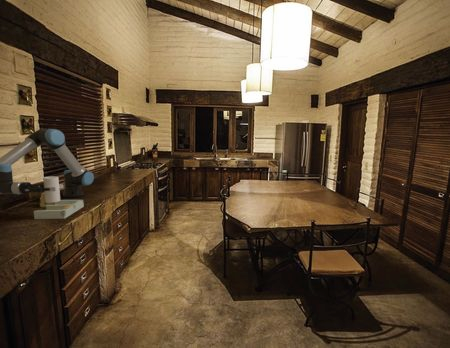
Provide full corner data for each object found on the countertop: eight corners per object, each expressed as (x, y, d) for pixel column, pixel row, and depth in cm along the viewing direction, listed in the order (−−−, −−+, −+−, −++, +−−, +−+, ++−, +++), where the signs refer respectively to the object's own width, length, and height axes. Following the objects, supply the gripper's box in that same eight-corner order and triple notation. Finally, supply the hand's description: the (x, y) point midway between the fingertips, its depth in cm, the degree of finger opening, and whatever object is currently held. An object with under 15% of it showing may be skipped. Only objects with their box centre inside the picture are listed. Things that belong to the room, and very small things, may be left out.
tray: (34, 219, 163) (33, 210, 162) (58, 206, 190) (57, 199, 190) (64, 218, 165) (63, 209, 164) (83, 206, 192) (83, 198, 191)
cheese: (40, 207, 188) (38, 194, 186) (45, 203, 198) (44, 191, 197) (56, 206, 191) (55, 193, 189) (61, 203, 201) (60, 190, 199)
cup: (57, 198, 175) (55, 175, 173) (62, 201, 170) (60, 177, 168) (43, 201, 169) (41, 177, 167) (47, 203, 164) (45, 178, 161)
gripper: (33, 190, 177) (67, 189, 180) (11, 197, 157) (50, 197, 159) (32, 179, 176) (67, 179, 178) (9, 185, 155) (49, 185, 158)
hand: (59, 187), depth 169 cm, fingers closed on cup, 8 cm apart
